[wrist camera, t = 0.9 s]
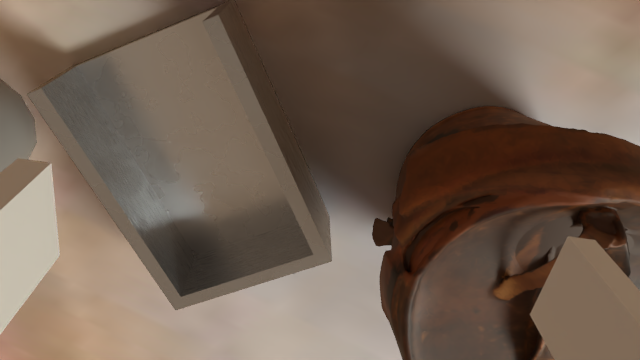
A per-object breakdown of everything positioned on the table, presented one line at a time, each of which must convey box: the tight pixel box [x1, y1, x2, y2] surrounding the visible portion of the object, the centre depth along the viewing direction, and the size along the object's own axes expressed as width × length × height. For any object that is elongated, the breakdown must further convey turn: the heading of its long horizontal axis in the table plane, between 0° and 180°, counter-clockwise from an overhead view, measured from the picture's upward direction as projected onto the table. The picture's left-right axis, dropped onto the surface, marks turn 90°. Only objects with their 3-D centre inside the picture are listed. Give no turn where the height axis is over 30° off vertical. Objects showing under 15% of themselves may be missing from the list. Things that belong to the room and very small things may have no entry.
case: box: [372, 106, 640, 360], centre depth 31 cm, size 18×20×18 cm
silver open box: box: [27, 0, 332, 310], centre depth 35 cm, size 18×12×6 cm
